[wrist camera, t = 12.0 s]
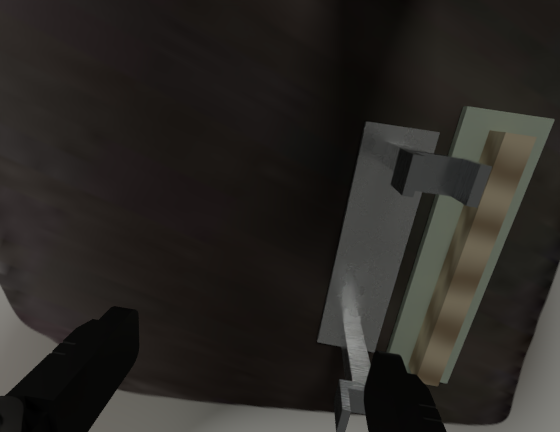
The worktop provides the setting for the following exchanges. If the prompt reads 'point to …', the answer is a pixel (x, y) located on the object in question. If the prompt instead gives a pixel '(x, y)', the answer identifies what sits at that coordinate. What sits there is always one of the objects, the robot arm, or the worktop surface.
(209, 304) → the worktop surface
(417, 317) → the mat
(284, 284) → the worktop surface
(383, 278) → the hook stand
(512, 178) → the rail
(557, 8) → the worktop surface
